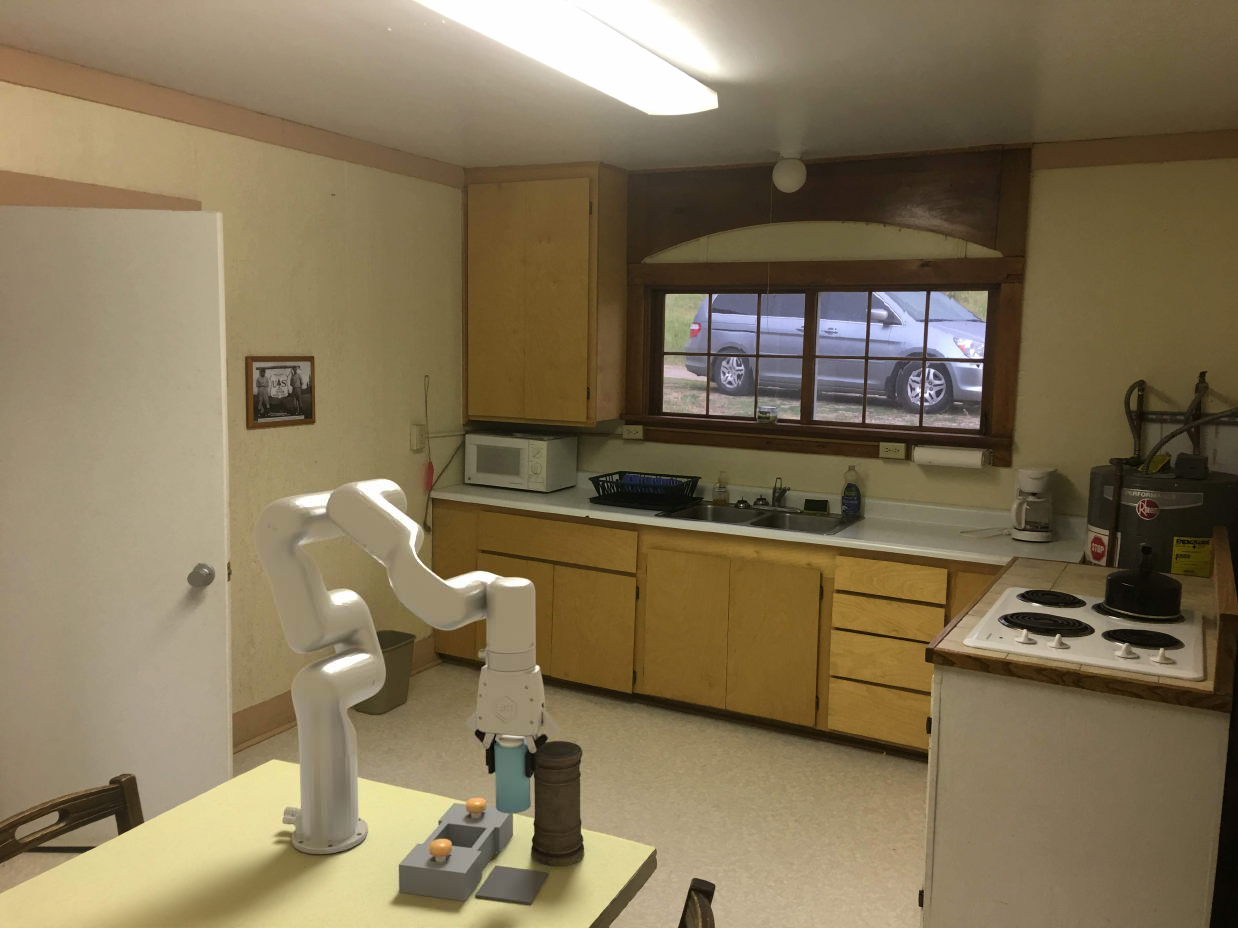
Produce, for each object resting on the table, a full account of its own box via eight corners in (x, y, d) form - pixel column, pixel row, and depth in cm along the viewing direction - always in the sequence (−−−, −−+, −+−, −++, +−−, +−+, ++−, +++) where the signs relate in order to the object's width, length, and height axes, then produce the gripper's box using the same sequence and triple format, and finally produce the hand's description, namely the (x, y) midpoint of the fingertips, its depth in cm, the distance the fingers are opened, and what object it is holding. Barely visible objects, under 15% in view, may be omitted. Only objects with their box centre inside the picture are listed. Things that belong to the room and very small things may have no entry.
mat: (475, 896, 144) (475, 894, 144) (495, 867, 153) (495, 865, 153) (530, 904, 142) (530, 901, 142) (548, 874, 151) (548, 871, 151)
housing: (399, 891, 145) (398, 864, 145) (454, 827, 166) (454, 802, 166) (465, 901, 143) (465, 872, 142) (513, 833, 164) (512, 809, 163)
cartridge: (490, 811, 144) (489, 743, 143) (502, 797, 149) (501, 731, 148) (524, 814, 143) (522, 745, 142) (535, 799, 148) (533, 733, 147)
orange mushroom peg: (463, 840, 160) (462, 805, 160) (470, 830, 164) (470, 796, 163) (482, 842, 160) (481, 807, 159) (489, 832, 163) (488, 798, 162)
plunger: (426, 885, 146) (425, 847, 145) (435, 874, 149) (434, 837, 149) (446, 888, 145) (446, 850, 145) (455, 877, 148) (454, 839, 148)
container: (577, 869, 152) (577, 762, 151) (524, 863, 154) (523, 757, 152) (589, 842, 161) (590, 741, 159) (539, 837, 163) (539, 737, 161)
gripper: (449, 661, 142) (451, 776, 144) (557, 669, 138) (558, 787, 140) (468, 648, 150) (469, 757, 151) (571, 655, 146) (571, 767, 147)
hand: (512, 771), depth 146 cm, fingers closed on cartridge, 5 cm apart
